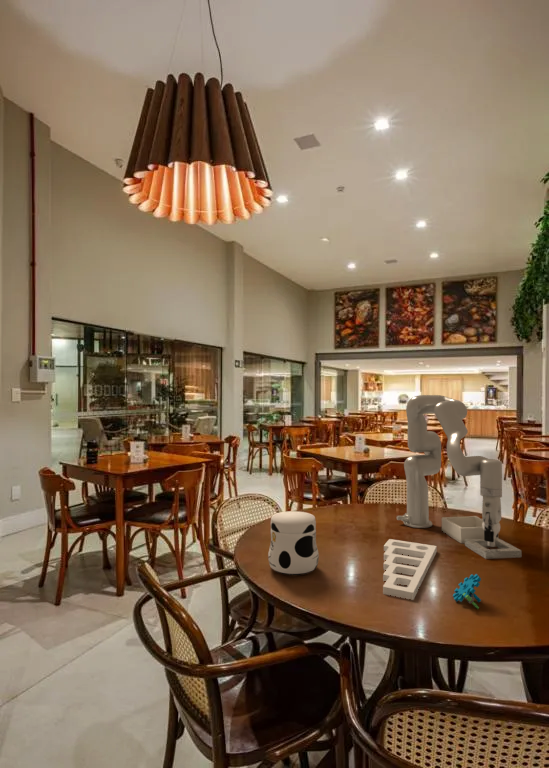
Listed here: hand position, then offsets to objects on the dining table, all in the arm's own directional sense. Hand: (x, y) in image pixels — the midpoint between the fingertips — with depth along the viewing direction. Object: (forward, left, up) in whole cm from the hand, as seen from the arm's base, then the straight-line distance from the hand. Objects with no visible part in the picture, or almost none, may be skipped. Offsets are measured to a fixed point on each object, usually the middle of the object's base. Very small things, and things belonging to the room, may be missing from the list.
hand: (491, 538), depth 171 cm
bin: (+1, +18, -5) cm, 18 cm away
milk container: (-78, -8, -5) cm, 78 cm away
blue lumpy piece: (-31, -38, -5) cm, 49 cm away
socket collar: (0, 0, -5) cm, 5 cm away
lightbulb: (0, 0, -3) cm, 3 cm away
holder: (-41, -11, -5) cm, 43 cm away
